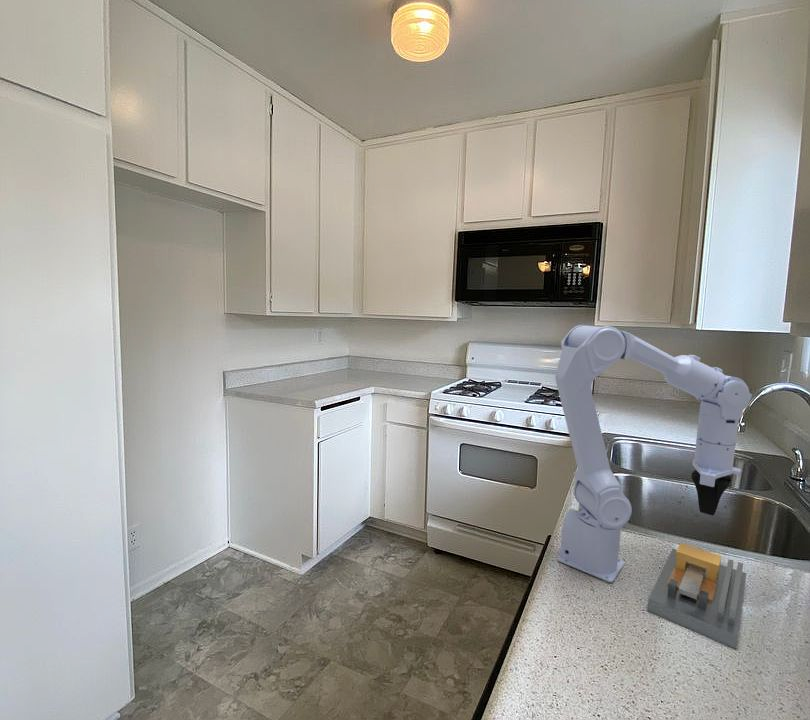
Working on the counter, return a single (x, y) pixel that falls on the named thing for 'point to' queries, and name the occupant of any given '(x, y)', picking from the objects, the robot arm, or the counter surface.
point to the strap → (692, 580)
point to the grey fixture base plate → (702, 601)
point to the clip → (698, 560)
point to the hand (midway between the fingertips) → (707, 512)
